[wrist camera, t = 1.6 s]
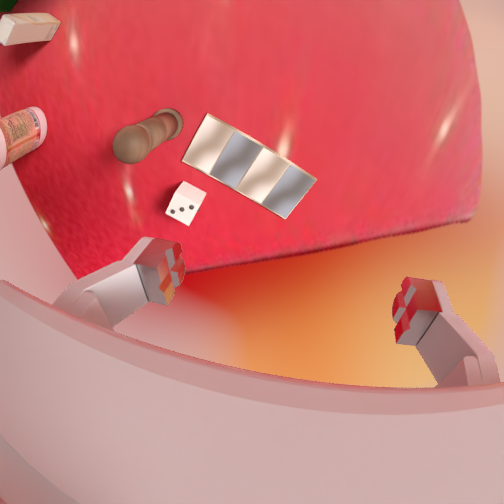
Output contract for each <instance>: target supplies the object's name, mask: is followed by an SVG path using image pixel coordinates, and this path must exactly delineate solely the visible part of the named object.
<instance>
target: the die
mask: <svg viewBox="0 0 504 504" xmlns="http://www.w3.org/2000/svg"><path fill="white" fill-rule="evenodd" d="M205 195H206V193H205V192H204V191H202V190H200V189H198V188H196V187H194V186H192V185H191V184H189V183H187V182H185V181H183V182H182V183H181V185H180V186H179V187H178V189H177V190H176V191H175V193H174V195H173V197H172V200H171V202H170V204H169V206H168V208H167V210H166V212H165V213H166V214H167V215H169V216H171V217H173V218H175V219H177V220H179V221H181V222H182V223H184V224H186V225H188V226H189V225H190V223H191V221H192V219H193V217H194V216H195V214H196V212H197V211H199V210H200V208H199V207H200V205H201V203H202V201H203V199H204V197H205Z"/></svg>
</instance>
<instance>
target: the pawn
mask: <svg viewBox="0 0 504 504" xmlns="http://www.w3.org/2000/svg"><path fill="white" fill-rule="evenodd" d="M182 128H183V119H182V116H181V115H180V113H179V112H178V111H176V110H174V109H171V108H165V109H162V110H159V111H158V112H156V113H155V114H154V116H153V117H151V118H148V119H146V120H144V121H142V122H140V123H137V124H135V125H129V126H126V127H124V128H122V129H121V130H120V131H119V132H118V133H117V134H116V136H115V137H114V140H113V152H114V155H115V156H116V158H117V159H118V160H120V161H121V162H123V163H126V164H135V163H138V162H140V161H142V160H143V159H144V158H145V157H146V156H147V155H148V153H149V152H150V151H151V150H153V149H154V148H155V147H157V146H158V145H159V144H161V143H162V142H164V141H165V140H171V139H173V138H175V137H176V136H177V135H179V134H180V132H181V131H182Z"/></svg>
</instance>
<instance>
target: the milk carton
mask: <svg viewBox="0 0 504 504" xmlns="http://www.w3.org/2000/svg"><path fill="white" fill-rule="evenodd" d="M16 2H17V0H0V12H10V11H11V10H12V8H13V7H14V5H15V3H16Z"/></svg>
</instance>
